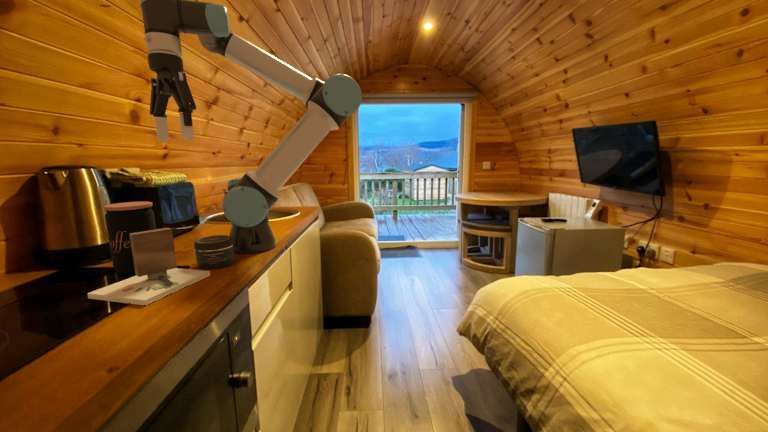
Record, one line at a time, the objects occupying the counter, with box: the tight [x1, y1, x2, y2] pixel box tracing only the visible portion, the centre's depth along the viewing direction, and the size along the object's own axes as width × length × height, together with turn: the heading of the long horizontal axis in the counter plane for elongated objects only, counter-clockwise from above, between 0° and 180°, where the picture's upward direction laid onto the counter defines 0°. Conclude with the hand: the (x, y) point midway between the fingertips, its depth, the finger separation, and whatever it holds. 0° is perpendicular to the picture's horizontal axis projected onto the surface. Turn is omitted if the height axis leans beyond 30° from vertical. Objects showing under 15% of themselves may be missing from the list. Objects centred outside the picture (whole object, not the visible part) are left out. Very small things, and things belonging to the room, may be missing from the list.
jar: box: [193, 234, 235, 271], centre depth 94 cm, size 10×10×8 cm
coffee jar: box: [103, 201, 157, 274], centre depth 92 cm, size 11×11×18 cm
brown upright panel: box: [129, 227, 178, 285], centre depth 78 cm, size 11×8×12 cm
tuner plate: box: [87, 267, 211, 306], centre depth 80 cm, size 18×16×1 cm
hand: (175, 140), depth 89 cm, fingers open, 13 cm apart
